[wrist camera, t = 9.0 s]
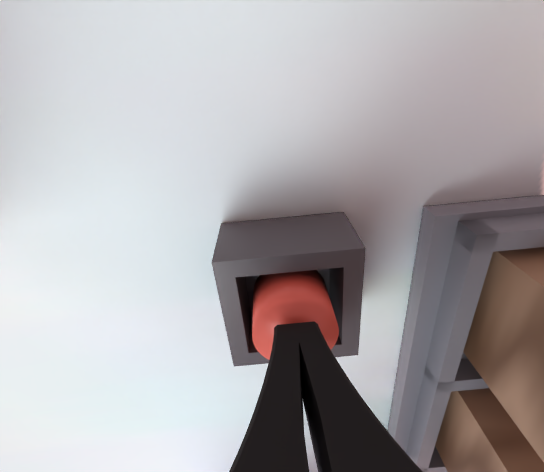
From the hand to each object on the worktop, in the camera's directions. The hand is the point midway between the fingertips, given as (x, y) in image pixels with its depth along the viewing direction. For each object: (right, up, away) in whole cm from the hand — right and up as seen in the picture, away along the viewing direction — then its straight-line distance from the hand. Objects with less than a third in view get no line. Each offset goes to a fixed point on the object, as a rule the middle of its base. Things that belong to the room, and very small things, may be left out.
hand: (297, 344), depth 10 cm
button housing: (0, +2, +4) cm, 4 cm away
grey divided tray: (+11, -3, +7) cm, 13 cm away
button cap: (0, +1, +2) cm, 3 cm away
